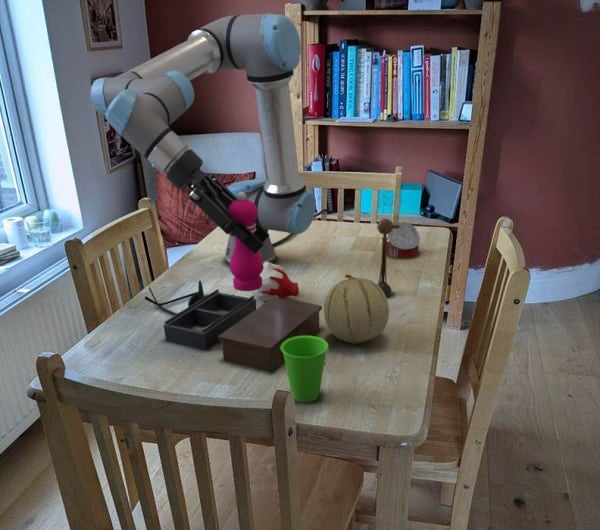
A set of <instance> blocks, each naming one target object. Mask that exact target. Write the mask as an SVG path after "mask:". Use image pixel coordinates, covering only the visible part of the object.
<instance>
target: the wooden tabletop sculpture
mask: <svg viewBox="0 0 600 530" xmlns="http://www.w3.org/2000/svg"><path fill="white" fill-rule="evenodd" d="M392 229H399V224H398V223H395V224H394V223H393V221H392V220H391V219H389V218H382V219H381V220H379V221H378V223H377V231H378V232H379V234H381V235H382V236H383V237H381V259H380V271H379V277H378V281H377V283H376V284H377V285H378V286H379V287H380V288H381V289H382V291H383V292H384V294H385V296H386V298H390V297H391V296H392V287H391V285H390V284H389V283H388V280H387V279H388V277H387V255H386V254H387V242H388V240H389V239H388V234H389V233H390V232H391V231H392Z"/></svg>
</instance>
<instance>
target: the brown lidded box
mask: <svg viewBox="0 0 600 530" xmlns="http://www.w3.org/2000/svg"><path fill="white" fill-rule="evenodd" d="M322 310H323V305H320V304H316V303H309V302H306V301H305V302H304V301H300V300H295V299H288V298H277V297H273V298H271V299H270V300H269V301H267V302H264V303H263V304H261V305H260V306H258V307H256V310H255V311H253V312H252V313H250V314H249V315H247V316H246V317H245V318H243V319H242V320H240V321H239V322H238V323H236V324H235V325H233V326H232V327H231V328H229V329H228V330H226V331H225V332H224V333H222V334H221V335H219V336H218V340H219V342H221V347H222V358H223V361H224V362H228V363H232V364H235V365H236V364H237V365H240V366H245V367H249V368H254V369H256V370H257V369H258V370H262V371H265V372H271V373H272V372H273V371H274V370H275V369H276V368H278V367H279V366H280V365H281V364H282V363H283V362H285V359H284V355H283V352H282V351H281V349H280V348H281V344H282V343H283V342H284V341H285V340H287V339H289V338H292V337H296V336H314V335H315V334H316V333H317V332H318V331H320V312H321V311H322Z"/></svg>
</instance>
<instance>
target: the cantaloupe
mask: <svg viewBox="0 0 600 530" xmlns="http://www.w3.org/2000/svg"><path fill="white" fill-rule="evenodd" d="M344 278H346V279H344V280H341V281H338V282H337V283H336V284H334V285H333V286H332V287H331V288H330V289H329V291H328V292H327V295H326V296H325V300H324V303H323V317H324V321H325V324H326V326H327V327H328V330H329V331H330V332H331V334H332V335H333V336H335V337H336V338H337V339H339V340H341V341H343V342H345V343H349V344H355V345H356V344H362V343H364V342H368V341H371V340H373V339H375V338H376V337H378V336H379V335H380V334H382V333H383V331H384V330H385V328H386V326H387V324H388V321H389V316H390V306H389V302H388V299H387V298H388V297H387V298H386V296H385V294H384V292H383V291H382V289H381V288H380V287H379V286H378V285H377V284H378V283H376V282H375V281H374V280H371V279H370V278H365V277H355V276H353V274H348V273H347V274H345V276H344Z"/></svg>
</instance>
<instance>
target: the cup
mask: <svg viewBox="0 0 600 530" xmlns="http://www.w3.org/2000/svg"><path fill="white" fill-rule="evenodd" d="M280 349H281V351H282V352H283V355H284V359H285V360H284V363H285V368H286V372H287V377H288V382H289V386H290V390H291V393H292V392H293V394H294V397H293V399H294V400H295V401H297V402H299V403H312V402H314V401H316V400H317V399H318V397H319V395H320V391H321V385H322V379H323V374H324V373H323V372H324V367H325V361H326V354H327V352H328V350H329V343H328V342H327V341H326V340H325V339H323V338H321V337H318V336H314V335H313V336H296V337H292V338H289V339H287V340H285V341H284V342H283V343H282V344H281V348H280Z"/></svg>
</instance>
